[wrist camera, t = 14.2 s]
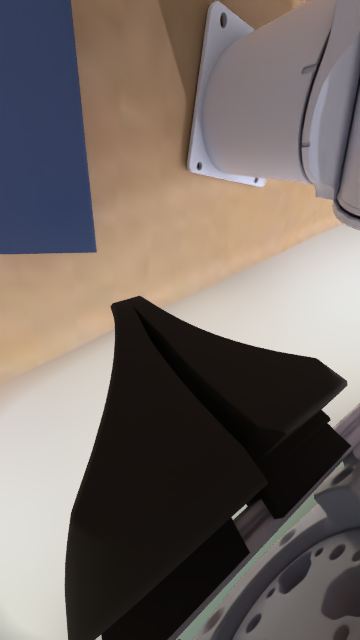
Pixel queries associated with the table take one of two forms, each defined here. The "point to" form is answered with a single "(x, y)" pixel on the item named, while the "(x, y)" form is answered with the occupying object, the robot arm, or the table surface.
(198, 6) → the table surface
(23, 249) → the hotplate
